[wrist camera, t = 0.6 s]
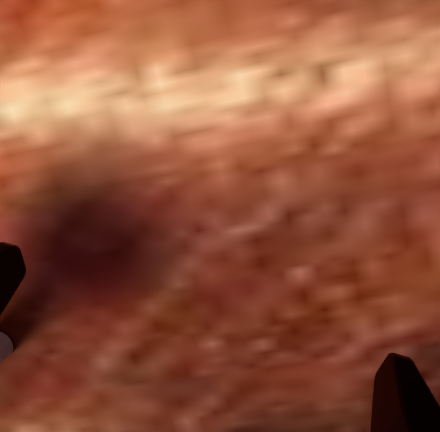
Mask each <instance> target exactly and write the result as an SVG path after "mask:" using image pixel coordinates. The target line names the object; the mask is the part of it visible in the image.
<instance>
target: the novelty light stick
mask: <svg viewBox="0 0 440 432" xmlns="http://www.w3.org/2000/svg"><path fill="white" fill-rule="evenodd" d="M12 351H13V344H12V341H11V340H10V338H9V337H8V336H7V335H6V334H4V333H2V332H0V364H1V363H2V362H3V361H4V360H5V359H6V358H7V357H8V356H9V355H10V354H11V353H12Z"/></svg>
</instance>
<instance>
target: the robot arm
mask: <svg viewBox="0 0 440 432" xmlns="http://www.w3.org/2000/svg"><path fill="white" fill-rule="evenodd" d="M25 273H26V266H25V263H24V260H23V257H22V253H21V250H20V248H19V247H18V246H16V245H13V244H10V243H6V242H0V316H1V314H2V312H3V311H4V309H5V308H6V306H7V304H8V303H9V301H10V299H11V298H12V296H13V295H14V293H15V291H16V290H17V288H18V286H19V285H20V283H21V282H22V280H23V278H24V276H25ZM371 432H440V406H439V404H438V403H437V401H436V399H435V398H434V396H433V394H432V393H431V391H430V389H429V387H428V386H427V384H426V382H425V381H424V379H423V377H422V376H421V374H420V372H419V371H418V369H417V367H416V365H415V364H414V362H413V361H412V360H411V359H410V358H409V357H407V356H403V355H400V354H396V353H390V354H388V355H387V357H386V358H385V360H384V362H383V363H382V365H381V366H380V368H379V369H378V371H377V373H376V375H375V380H374V390H373V404H372V418H371Z"/></svg>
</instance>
